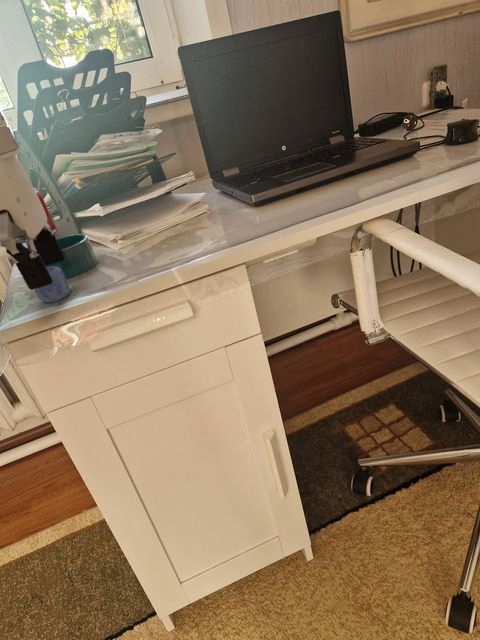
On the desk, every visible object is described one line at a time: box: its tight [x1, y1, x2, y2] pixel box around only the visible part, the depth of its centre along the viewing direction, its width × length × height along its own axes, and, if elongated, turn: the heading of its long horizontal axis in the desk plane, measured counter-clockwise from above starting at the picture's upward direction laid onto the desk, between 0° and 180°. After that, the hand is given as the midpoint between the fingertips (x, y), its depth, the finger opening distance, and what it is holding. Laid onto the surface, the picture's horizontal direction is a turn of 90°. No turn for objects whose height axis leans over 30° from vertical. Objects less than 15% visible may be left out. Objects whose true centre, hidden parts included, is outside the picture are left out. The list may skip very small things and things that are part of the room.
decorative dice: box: [33, 266, 71, 304], centre depth 68 cm, size 4×4×4 cm
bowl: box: [35, 233, 98, 280], centre depth 77 cm, size 9×9×4 cm
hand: (49, 273), depth 67 cm, fingers open, 9 cm apart
